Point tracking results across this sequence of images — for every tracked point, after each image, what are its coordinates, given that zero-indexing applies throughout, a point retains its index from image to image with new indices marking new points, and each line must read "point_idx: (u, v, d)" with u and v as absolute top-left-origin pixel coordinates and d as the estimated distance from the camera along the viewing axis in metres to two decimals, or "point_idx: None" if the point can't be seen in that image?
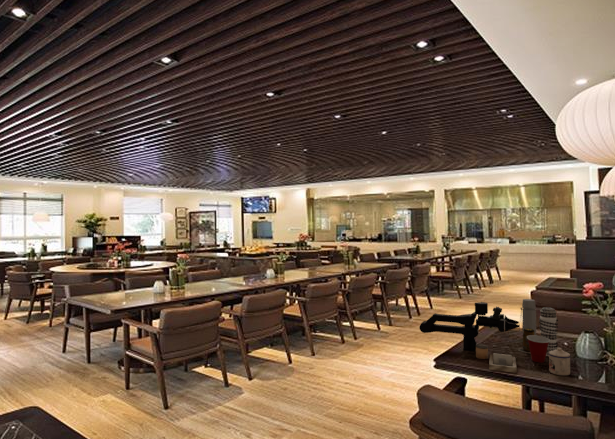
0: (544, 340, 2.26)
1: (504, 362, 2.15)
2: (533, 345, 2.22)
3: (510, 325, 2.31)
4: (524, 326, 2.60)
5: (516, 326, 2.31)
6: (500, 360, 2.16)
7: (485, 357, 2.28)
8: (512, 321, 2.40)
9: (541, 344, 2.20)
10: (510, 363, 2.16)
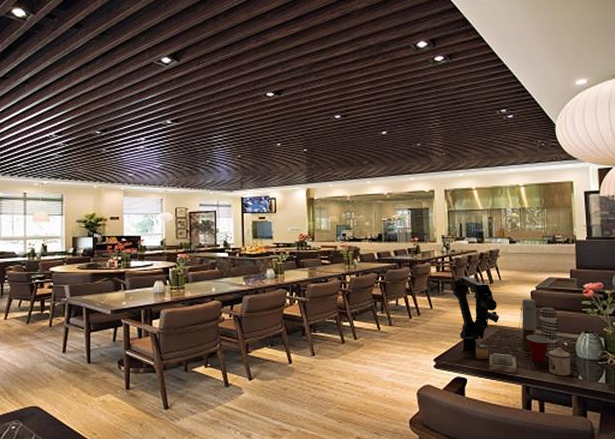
0: (544, 340, 2.26)
1: (504, 362, 2.15)
2: (533, 345, 2.22)
3: (481, 330, 2.26)
4: (524, 326, 2.60)
5: (481, 336, 2.27)
6: (500, 360, 2.16)
7: (485, 357, 2.28)
8: None
9: (541, 344, 2.20)
10: (510, 363, 2.16)
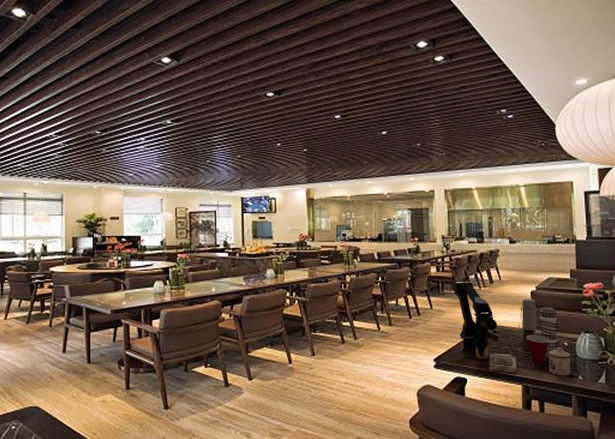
0: (544, 340, 2.26)
1: (504, 362, 2.15)
2: (533, 345, 2.22)
3: (481, 349, 2.27)
4: (524, 326, 2.60)
5: (481, 354, 2.28)
6: (500, 360, 2.16)
7: (485, 357, 2.28)
8: None
9: (541, 344, 2.20)
10: (510, 363, 2.16)
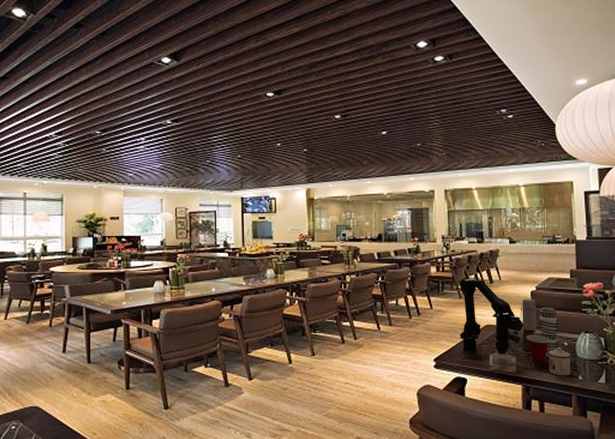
0: (544, 340, 2.26)
1: (504, 362, 2.15)
2: (533, 345, 2.22)
3: (502, 351, 2.19)
4: (524, 326, 2.60)
5: None
6: (500, 360, 2.16)
7: None
8: None
9: (541, 344, 2.20)
10: (510, 363, 2.16)
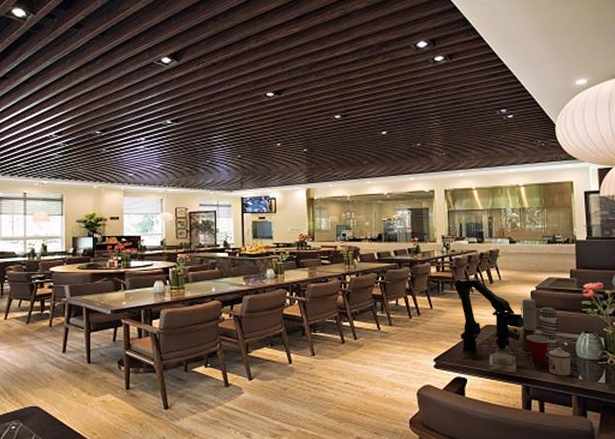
0: (544, 340, 2.26)
1: (504, 362, 2.15)
2: (533, 345, 2.22)
3: (502, 346, 2.28)
4: (524, 326, 2.60)
5: None
6: (500, 360, 2.16)
7: None
8: None
9: (541, 344, 2.20)
10: (510, 363, 2.16)
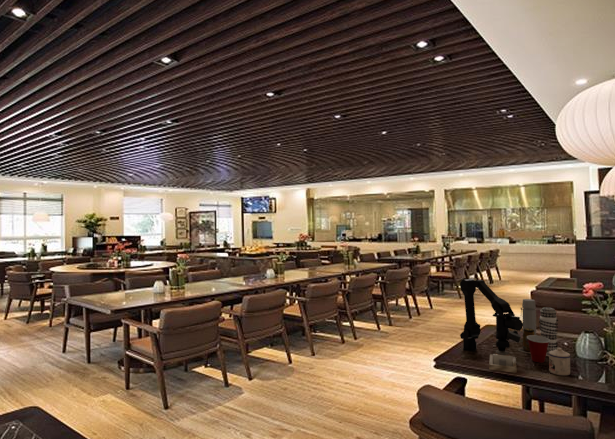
0: (544, 340, 2.26)
1: (504, 363, 2.14)
2: (533, 345, 2.22)
3: (502, 349, 2.23)
4: (524, 326, 2.60)
5: None
6: (500, 361, 2.15)
7: None
8: None
9: (541, 344, 2.20)
10: (510, 364, 2.15)
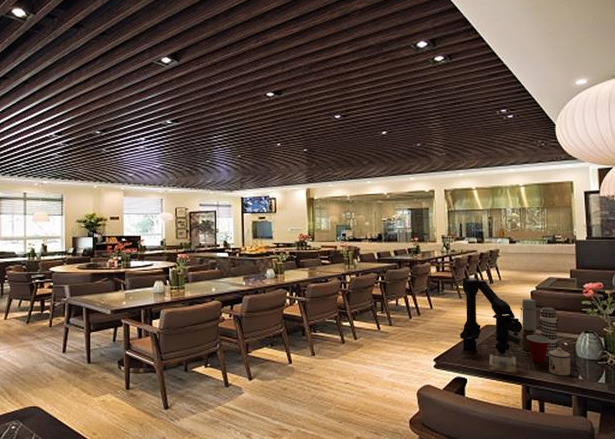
0: (544, 340, 2.26)
1: (504, 365, 2.11)
2: (533, 345, 2.22)
3: (502, 351, 2.20)
4: (524, 326, 2.60)
5: None
6: (500, 363, 2.12)
7: None
8: None
9: (541, 344, 2.20)
10: None
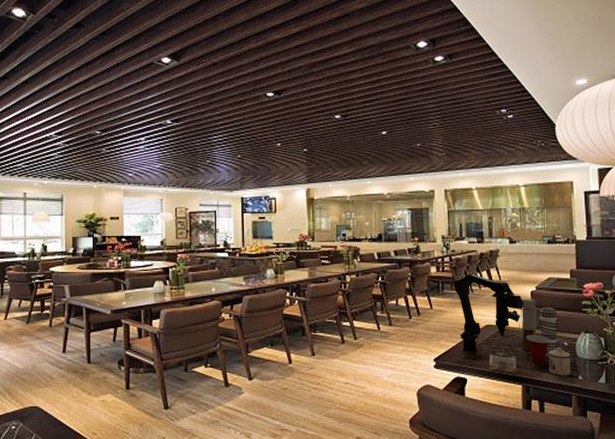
0: (544, 340, 2.26)
1: (504, 365, 2.11)
2: (533, 345, 2.22)
3: (502, 328, 2.27)
4: (524, 326, 2.60)
5: (501, 333, 2.28)
6: (500, 363, 2.12)
7: None
8: None
9: (541, 344, 2.20)
10: None
